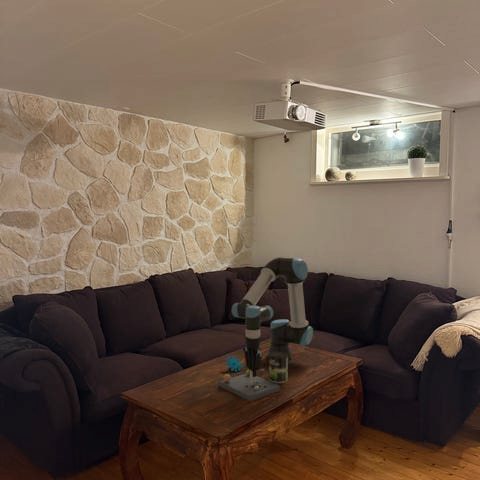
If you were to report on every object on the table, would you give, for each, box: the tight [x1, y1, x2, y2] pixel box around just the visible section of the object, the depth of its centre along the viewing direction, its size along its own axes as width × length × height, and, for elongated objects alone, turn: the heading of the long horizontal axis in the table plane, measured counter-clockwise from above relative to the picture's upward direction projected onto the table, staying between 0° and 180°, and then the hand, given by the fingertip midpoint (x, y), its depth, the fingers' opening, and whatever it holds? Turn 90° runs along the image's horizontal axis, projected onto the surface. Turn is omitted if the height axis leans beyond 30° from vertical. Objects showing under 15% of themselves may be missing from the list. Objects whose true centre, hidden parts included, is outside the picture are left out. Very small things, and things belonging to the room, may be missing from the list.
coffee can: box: [268, 351, 289, 384], centre depth 241 cm, size 10×10×14 cm
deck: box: [219, 373, 281, 402], centre depth 229 cm, size 24×20×2 cm
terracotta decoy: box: [222, 373, 232, 382], centre depth 231 cm, size 4×4×4 cm
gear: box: [225, 355, 244, 373], centre depth 257 cm, size 11×6×10 cm
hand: (252, 382), depth 227 cm, fingers closed
